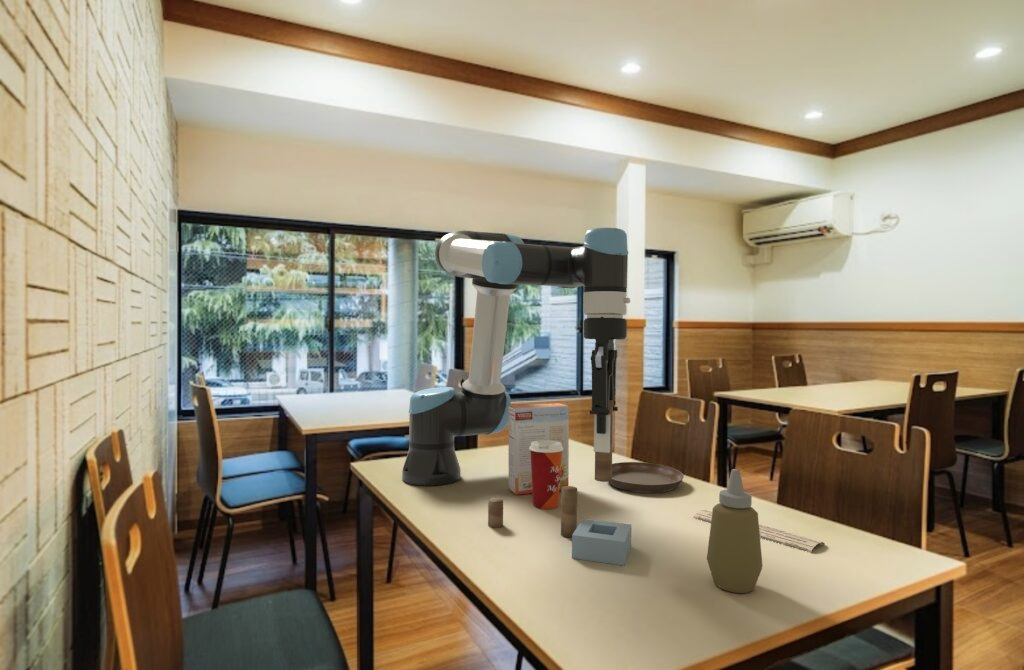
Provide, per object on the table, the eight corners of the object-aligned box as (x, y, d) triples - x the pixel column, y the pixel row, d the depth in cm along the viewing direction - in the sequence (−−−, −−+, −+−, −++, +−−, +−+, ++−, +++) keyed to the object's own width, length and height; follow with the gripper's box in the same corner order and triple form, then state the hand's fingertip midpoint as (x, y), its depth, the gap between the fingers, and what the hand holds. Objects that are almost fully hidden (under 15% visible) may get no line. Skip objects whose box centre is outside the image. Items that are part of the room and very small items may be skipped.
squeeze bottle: (697, 574, 91) (699, 464, 91) (745, 573, 92) (747, 463, 92) (720, 598, 83) (722, 477, 83) (772, 597, 84) (775, 476, 84)
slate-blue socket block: (582, 539, 106) (582, 518, 106) (631, 546, 103) (631, 524, 103) (571, 558, 98) (572, 534, 97) (624, 565, 95) (624, 541, 95)
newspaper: (693, 521, 119) (693, 513, 119) (711, 514, 123) (711, 506, 123) (811, 557, 101) (811, 547, 101) (827, 547, 105) (827, 538, 105)
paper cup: (560, 511, 122) (561, 447, 122) (525, 509, 123) (526, 445, 123) (564, 501, 130) (565, 440, 129) (531, 498, 131) (532, 438, 131)
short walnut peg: (491, 522, 115) (491, 497, 115) (505, 523, 114) (505, 499, 114) (485, 526, 112) (486, 501, 112) (499, 528, 111) (500, 503, 111)
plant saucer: (689, 498, 133) (689, 484, 133) (601, 493, 137) (601, 480, 136) (677, 476, 154) (677, 463, 154) (600, 472, 157) (601, 460, 157)
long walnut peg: (596, 476, 102) (597, 399, 102) (613, 478, 101) (614, 400, 101) (593, 480, 99) (594, 401, 99) (610, 482, 98) (611, 402, 98)
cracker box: (559, 484, 144) (560, 402, 143) (569, 490, 138) (570, 405, 138) (507, 488, 139) (507, 403, 139) (514, 495, 133) (515, 407, 133)
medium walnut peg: (562, 531, 110) (563, 485, 110) (578, 533, 109) (578, 486, 109) (559, 536, 108) (559, 489, 107) (574, 538, 107) (575, 491, 106)
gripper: (620, 315, 91) (618, 461, 91) (632, 318, 106) (630, 442, 106) (574, 315, 93) (572, 457, 94) (592, 317, 109) (591, 439, 109)
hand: (603, 449), depth 100 cm, fingers closed on long walnut peg, 3 cm apart
